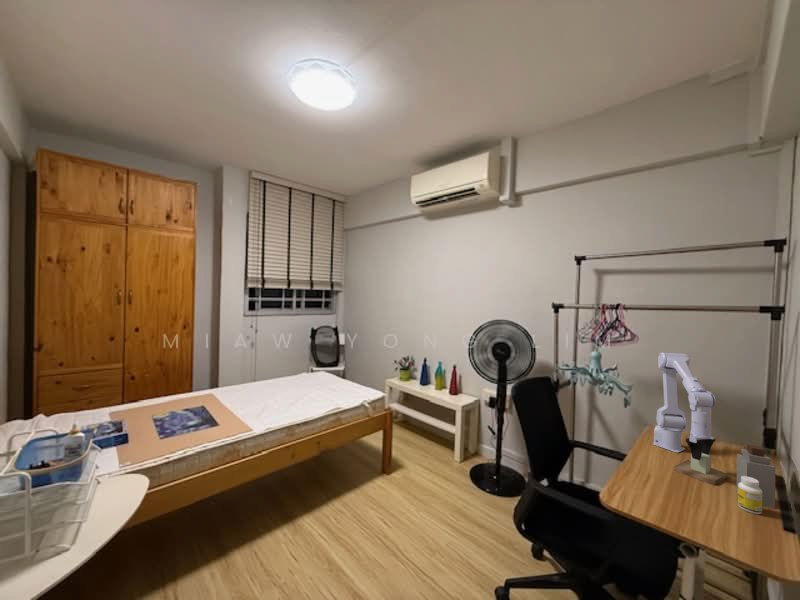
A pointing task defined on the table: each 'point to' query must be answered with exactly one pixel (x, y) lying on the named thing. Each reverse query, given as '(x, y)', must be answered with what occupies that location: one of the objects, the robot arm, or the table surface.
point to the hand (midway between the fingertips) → (700, 456)
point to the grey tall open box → (758, 472)
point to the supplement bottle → (750, 495)
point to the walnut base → (710, 477)
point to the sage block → (701, 463)
